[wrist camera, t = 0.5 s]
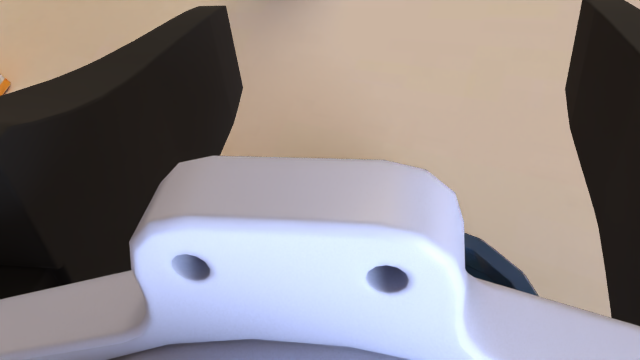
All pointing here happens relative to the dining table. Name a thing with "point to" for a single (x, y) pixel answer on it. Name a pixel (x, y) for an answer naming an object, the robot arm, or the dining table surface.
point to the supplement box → (3, 84)
